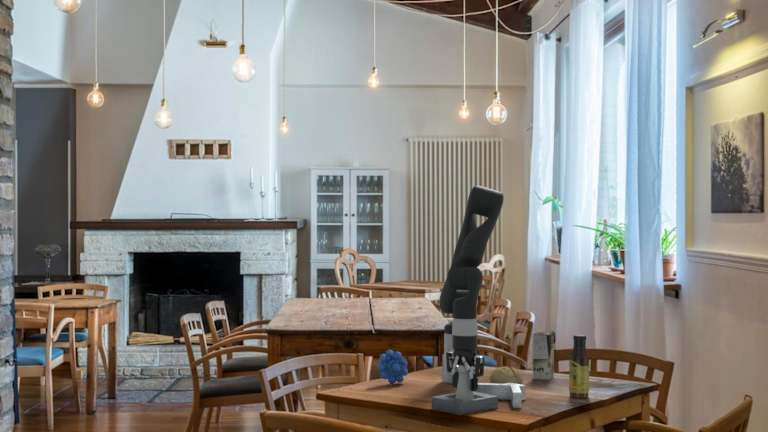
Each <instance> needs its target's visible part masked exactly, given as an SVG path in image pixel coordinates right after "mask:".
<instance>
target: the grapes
mask: <svg viewBox="0 0 768 432" xmlns="http://www.w3.org/2000/svg"><path fill="white" fill-rule="evenodd" d="M378 359H379V362H378V363H377V365H376V367H377V369H378V371H380V378H381V379H382V380H387V382H388V383H389V384H391V385H394V384H396V382H397V383H400V384H401V383H403V381H404V377H407V376H408V374H409V371H408V368H406V367H408V366H407V365H408V361H407V359H405V358H403V355H402V353H401V352H400V351H394V350H392V349H387V350H386V351H385V353H381V354H380V355H379V358H378Z"/></svg>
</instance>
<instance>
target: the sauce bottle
mask: <svg viewBox="0 0 768 432" xmlns="http://www.w3.org/2000/svg"><path fill="white" fill-rule="evenodd" d="M572 339H573V348H572V350H571V351H572V352H571V354H570V357H569V367H568V369H569V371H568V373H569V374H568V375H569V376H568V380H569V381H568V382H569V383H568V391H569V396H570V397H572V398H574V397H575V398H576V399H584V398H585V397H587V398H588V397H589V394H590V393H589V392H590V356H589V354H588V352H587V350H586V349H587V348H586V346H587V345H586V342H587V335H586V334H580V333H578V334H577V333H576V334H573V337H572ZM585 399H586V398H585Z"/></svg>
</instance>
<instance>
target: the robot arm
mask: <svg viewBox="0 0 768 432" xmlns="http://www.w3.org/2000/svg"><path fill="white" fill-rule="evenodd" d="M467 198H468V199H467V203H466V207H465V211H464V216H463V220H462V221H463V222H462V226H461V228H460V232H459V236H458V239H457V243H456V245H455V249H454V252H453V257H452V260H451V264H450V266H449V267H450V268H449V270H448V271H447V275H446V279H445V281H444V284H443V287H442V289H441V292H440V295H439V303H438V304H439V309H440V311H441V312H442V313H444V314H447V315H452V318H453V319H452V321H450V322H448V323H446V324H445V325H444V329H443V330H444V334H443V335H444V340H443V341H444V344H443V345H444V346H443V347H444V348H443V349H444V353H443V354H442V355H441V356H442V358H441V359H442V362H441V363H442V366H441V367H442V371H441V372H442V375H441V377H442V382H444V383H446V384H451V385H452V387H453V388H454V389H457V385H458V379H459V374H460V373H459V372H458V366H459V365H463V366H465V367H466V370H467V371H468V372H469V374H470V390H471V391H476V390H477V389H478V383H479V378H481V377H483V376H484V372H485V371H484V370H485V369H484V368H485V356H483V355H482V356H478V355H477V353H476V351H477V349H478V320H477V318H478V317H477V315H478V314H477V311H478V309H477V306H478V301H479V300H478V299H479V295H480V291H481V288H482V285H483V279H484V278H483V277H484V276H483V273H482V271H481V269H480V268H479V267H480V265H481V264H482V261H483V258H484V255H485V252H486V249H487V248H486V247H487V245H488V241H489V239H490V238H491V235H492V233H493V231H494V228H495V227H496V223H497V221H498V219H499V216H500V214H501V211H502V208H503V205H504V200H505V199H504V194H503V193H502V192H501V191H499V190H495V189H492V188H488V187H485V186H481V185H474V186H473V187H472V188H471V189H470V192H469V195H468V197H467ZM477 215H478V216H479V217H484V218H486V220H485V221H483V223H481V224H480V225H478V226H477V224H476V223H477V222H476V216H477ZM471 367H472V368H471Z"/></svg>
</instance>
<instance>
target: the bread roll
mask: <svg viewBox="0 0 768 432" xmlns="http://www.w3.org/2000/svg"><path fill="white" fill-rule="evenodd" d="M489 382H490V383H493V384H506V383H516V384H521V385H524V383H523V376H522V374H521V372H520V370H518V369H517V368H516V367H513V366H506V365H505V366H501V367H497V368H495V369H493V370H492V372H491V374H490V376H489Z"/></svg>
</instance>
